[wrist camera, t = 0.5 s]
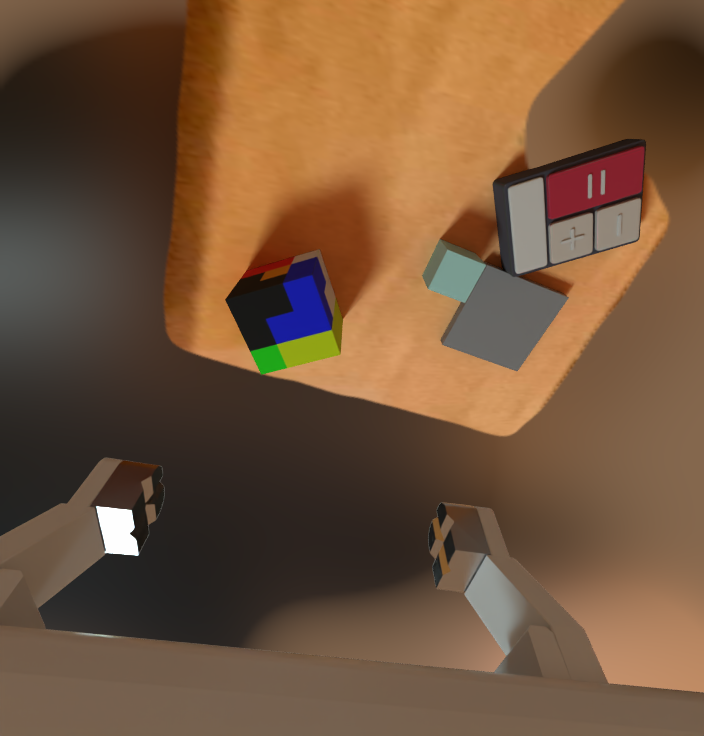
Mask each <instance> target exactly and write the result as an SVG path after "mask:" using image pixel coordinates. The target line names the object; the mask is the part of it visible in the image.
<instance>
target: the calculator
mask: <svg viewBox="0 0 704 736" xmlns="http://www.w3.org/2000/svg"><path fill="white" fill-rule="evenodd" d="M645 151H646V142H645V140H640V139H625V140H621V141H618V142H615V143H612V144H609V145H606V146H603V147H600V148H597V149H593V150H590V151H587V152H584V153H581V154H578V155H575V156H571V157H568V158H565V159H562V160H559V161H556V162H553V163H550V164H546V165H543V166H540V167H537V168H533V169H529V170H525V171H522V172H519V173H516V174H512V175H509V176H506V177H503V178H499V179H497V180H495V181H494V182H493V191H494V200H495V210H496V219H497V228H498V237H499V246H500V255H501V264H502V268H503V269H504V270H505V271H506V272H507V273H509V274H510V275H511V276H512V277H517V276H520V275H524V274H527V273H531V272H534V271H538V270H541V269H544V268H548V267H551V266H555V265H558V264H562V263H565V262H569V261H572V260H575V259H579V258H582V257H586V256H589V255H593V254H596V253H599V252H603V251H606V250H610V249H613V248H617V247H620V246H623V245H627V244H630V243H634V242H636V241H638V240H639V237H640V223H641V209H642V194H643V180H644V165H645Z"/></svg>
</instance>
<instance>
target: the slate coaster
mask: <svg viewBox="0 0 704 736" xmlns="http://www.w3.org/2000/svg"><path fill="white" fill-rule="evenodd" d="M484 263H485V264H486V267H485V268H484V270H483V272H482V274H481V276H480V277H479V279H478V281H477V283H476V284H475V286H474V288H473V290H472V292H471V293H470V295H469V297H468V299H467V301H466V302H465V303H463V302H461V304H460V306H459V307H458V309H457V311H456V313H455V315H454V316H453V318H452V320H451V322H450V324H449V325H448V327H447V329H446V331H445V333H444V334H443V336H442V338H441V342H442V345H444V346H447V347H450V348H453V349H455V350H458V351H461V352H464V353H467V354H470V355H472V356H475V357H478V358H481V359H484V360H487V361H489V362H492V363H495V364H498V365H501V366H503V367H506V368H509V369H512V370H515V371H518V370H519V368H520V367H521V365H522V364H523V363H524V361H525V360H526V358H527V357H528V355H529V354H530V352H531V351H532V350H533V348H534V347H535V345H536V344H537V342H538V341H539V340H540V338H541V337H542V335H543V334H544V332H545V331H546V330H547V328H548V327H549V325H550V324H551V322H552V321H553V320H554V318H555V317H556V315H557V314H558V312H559V311H560V310H561V308H562V307H563V305H564V304H565V302H566V301H567V300H568V298H569V297H567V296H566V295H565V294H564V293H561V292H559V291H556V290H554V289H551V288H549V287H546V286H544V285H541V284H539V283H536V282H534V281H531V280H529V279H527V278H524V277H522V276H517V277H512V276H511V275H510V274H509V273H507V272H506V271H505V270H504V269H502V268H499V267H497V266H494V265H492V264H489V263H487V262H484Z"/></svg>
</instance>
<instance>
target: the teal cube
mask: <svg viewBox="0 0 704 736" xmlns="http://www.w3.org/2000/svg"><path fill="white" fill-rule="evenodd" d="M485 267H486V264H485V263H484V262H483V261H482V260H481V259H480V258H479V257H478V256H477V254H476V253H473V252H471V251H468V250H466V249H463V248H461V247H459V246H456V245H454V244H451V243H449V242H446V241H444V240H441V239H440V240H439V242H438V244H437V246H436V248H435V250H434V252H433V254H432V256H431V258H430V260H429V263H428V265H427V267H426V269H425V271H424V273H423V275H422V276H423V279H424V281H425V283H426V286H427V288H428V289H429V290H432V291H434V292H437V293H440V294H442V295H445V296H448V297H450V298H453V299H455V300H458V301H461V302H463V303H465V302H466V301H467V299H468V297H469V295H470V293H471V292H472V290H473V288H474V286H475V284H476V283H477V281H478V279H479V277H480V276H481V274H482V272H483V270H484V268H485Z"/></svg>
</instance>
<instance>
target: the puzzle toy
mask: <svg viewBox="0 0 704 736" xmlns="http://www.w3.org/2000/svg"><path fill="white" fill-rule="evenodd" d="M225 300H226V302H227V304H228V306H229V309H230V311H231V313H232V315H233V317H234V319H235V321H236V323H237V325H238V327H239V329H240V331H241V333H242V335H243V337H244V340H245V342H246V344H247V346H248V348H249V350H250V352H251V354H252V356H253V358H254V360H255V362H256V364H257V366H258V368H259V371H260V373H261V374H266V373H269V372H273V371H277V370H281V369H285V368H289V367H293V366H297V365H301V364H305V363H309V362H313V361H317V360H321V359H325V358H329V357H333V356H337V355H340V354H341V339H342V325H343V318H342V315H341V312H340V309H339V306H338V303H337V300H336V297H335V294H334V291H333V288H332V285H331V282H330V279H329V276H328V273H327V270H326V267H325V264H324V261H323V258H322V255H321V252H320V249H318V250H315V251H311V252H308V253H305V254H301V255H298V256H295V257H291V258H288V259H284V260H281V261H278V262H274V263H271V264H268V265H264V266H261V267H257V268H254V269H251V270H247V271H246V272H245V273H244V275H243V276H242V278H241V279H240V280H239V282H238V283H237V284H236V286H235V287H234V288H233V290H232V291H231V293H230V294H229V295H228V297H227V298H226V299H225Z"/></svg>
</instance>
